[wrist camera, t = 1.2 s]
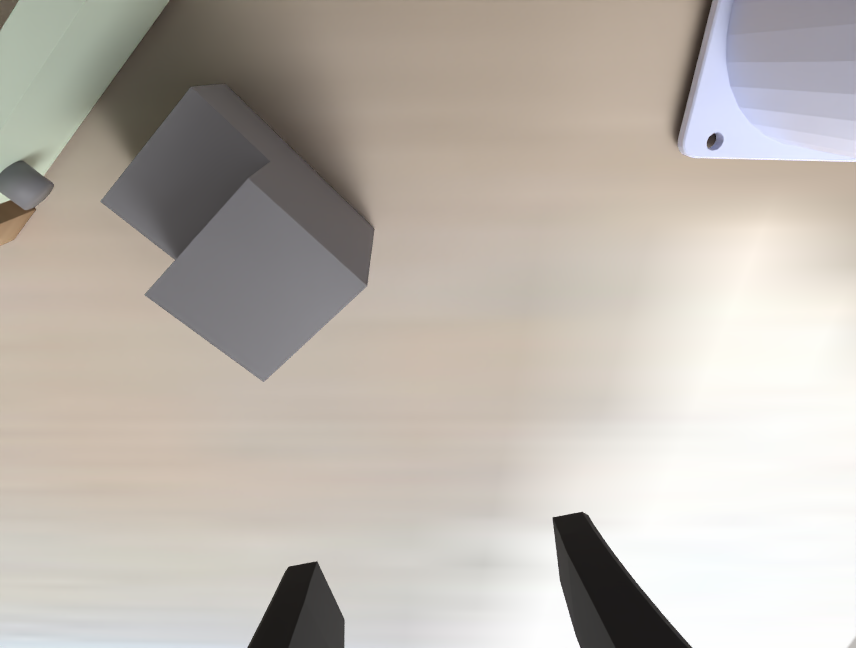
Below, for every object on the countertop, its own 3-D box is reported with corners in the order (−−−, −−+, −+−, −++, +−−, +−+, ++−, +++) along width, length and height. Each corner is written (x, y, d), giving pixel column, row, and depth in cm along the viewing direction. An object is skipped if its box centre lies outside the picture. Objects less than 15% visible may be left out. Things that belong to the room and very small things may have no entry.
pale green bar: (214, -139, 12) (149, -212, 9) (270, -73, 12) (228, -119, 9) (1, 170, 15) (-103, 198, 12) (56, 211, 15) (-29, 247, 12)
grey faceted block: (225, 83, 14) (151, 90, 10) (374, 228, 17) (367, 285, 12) (147, 180, 16) (48, 225, 11) (296, 303, 18) (264, 381, 13)
